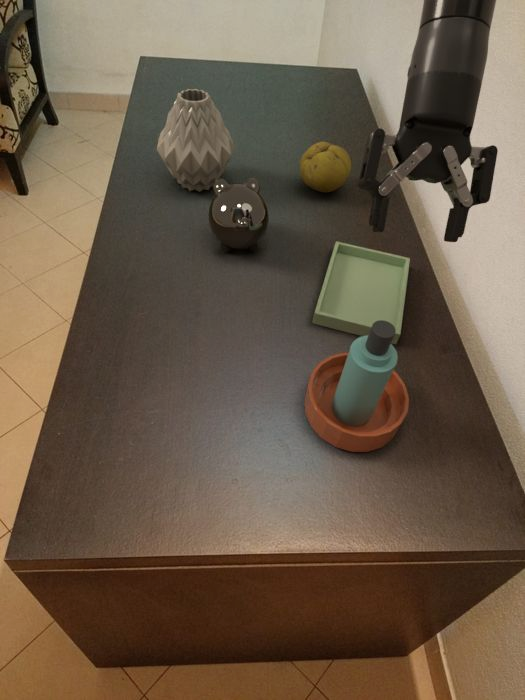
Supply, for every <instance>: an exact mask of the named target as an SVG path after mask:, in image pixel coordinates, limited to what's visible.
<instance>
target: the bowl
mask: <svg viewBox="0 0 525 700" xmlns="http://www.w3.org/2000/svg"><path fill="white" fill-rule="evenodd" d="M348 353H349V352H342V353H337V354H333V355H331V356H328V357H326V358H325V359H323V360H321V361H320V362H318V364H317V365H316V366H315V368H314V369H313V370H312V371H311V373H310V377H309V381H308V385H307V388H306V393H305V397H304V402H303V403H304V412H305V417H306V418H307V420H308V422H309V425H310V427H311V429H312V430H313V431H314V433H316V434H317V435H318V437H320V438H321V439H322V440H323V441H325V442H327V443H328V444H330V445H331V446H333V447H335V448H337V449H341V450H344V451H348V452H354V453H355V452H356V453H357V452H359V453H364V452H365V453H367V452H371V451H374V450H377V449H381V448H382V447H384V446H386V445H387V444H388V443H389V442H390V441H391V440H393V439H394V438H395V435H396V433H397V432H398V430H399V429H400V427H401V425H402V423H403V421H404V420H405V418H406V416H407V414H408V412H409V404H410V403H409V402H410V397H409V394H408V390H407V386H406V385H405V384H406V383H404V381H403V380H402V378H401V377H400V375H399V374H398V373H397V372H396V371H395V369H394V370H393V372H392V374H391V376H390V378H389V380H388V383H387V385H386V387H385V389H384V391H383V393H382V395H381V397H380V400H379V402H378V404H377V406H376V408H375V410H374V412H373V414H372V416H371V418H370V420H369V421H368V422H367V423H365V424H364V425H361V426H350V425H346V424H344V423H342V422H341V421H339V420H338V419H337V418H336V416H335V415H334V413H333V411H332V401H333V398H334V395H335V392H336V389H337V386H338V383H339V380H340V377H341V374H342V371H343V368H344V365H345V362H346V359H347V356H348Z"/></svg>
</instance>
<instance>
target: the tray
mask: <svg viewBox="0 0 525 700" xmlns="http://www.w3.org/2000/svg"><path fill="white" fill-rule="evenodd" d="M410 262H411V258H410V257H406V256H402V255H398V254H393V253H389V252H385V251H381V250H375V249H372V248H368V247H362V246H358V245H354V244H350V243H347V242H340V241H338V240H337V241H335V244H334V246H333V250H332V253H331V257H330V260H329V263H328V267H327V270H326V273H325V277H324V280H323V284H322V287H321V290H320V294H319V296H318V300H317V303H316V306H315V310H314V314H313V317H312V323H311V324H313V325H318V326H322V327H326V328H329V329H333V330H337V331H340V332H344V333H349V334H352V335H355V336H356V335H357V336H359V337H362V336H367V335H369V333H370V330H371V327H372V325H373V323H374V322H376V321H379V320H384V321H387V322H389V323H391V324H392V325H393V326H394V327H395V331H396V332H395V335H394V337H393V339H392V342H391V344H392V345H397V343H398V341H399V338H400V337H401V332H402V326H403V325H402V324H403V318H404V308H405V301H406V293H407V287H408V278H409V271H410V270H409V269H410Z"/></svg>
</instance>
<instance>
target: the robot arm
mask: <svg viewBox="0 0 525 700" xmlns="http://www.w3.org/2000/svg"><path fill="white" fill-rule="evenodd" d="M496 4H497V0H423V3H422V10H421V15H420V19H419V20H420V21H419V26H418V32H417V35H416V36H417V37H416V40H415V43H414V47H413V50H412V54H411V59H410V63H409V67H408V70H407V81H406V87H405V92H404V100H403V104H402V110H401V116H400V121H399V126H398V127H399V128H398V131H397V133H396V134H392V133H387V132H385V130H384V129H383V128H381V127H380V128H377V129H375V130H374V131H373V132H371V133H370V134H369V135H368V137H367V141H366V145H365V150H364V154H363V159H362V162H361V163H362V164H361V167H360V168H361V169H360V174H359V178H358V181H357V182H358V183H357V185H358V188H359V189H360V190H363V191H366V192H368V194H370V195H371V197H372V200H371V205H370V212H369V217H368V224H369V226H370V227H372V233H384V232H385V226H386V221H387V216H388V209H389V204H390V199H391V197H389V196H388V195H389V194H390V192H392V191H393V190H394V188H396V186H397V185H398V184H399V183H400V182H402V181H403V180H404V179H405V178H407V179H408V181H414V182H415V181H423V182H426V183H428V184H439V183H440V185H441V186H442V189H443V190H444V192H445V193H446V194H447V195H448V197H449V200H450V202H451V204H452V206H453V207H450V208H449V211H448V217H447V220H446V226H445V229H444V230H445V231H444V235H443V241H444V242H447V243H457V242H458V240H459V238H462V237H463V235H464V234H465V229H466V225H467V220H468V216H469V212H470V210H471V208H472V207H473V206H478V205H482V204H487V203H488V202H489V201H490V199H491V194H492V189H493V183H494V176H495V169H496V164H497V158H498V150H499V149H498V147H497V146H496V145H493V144H492V145H489V146H485V147H484V146H482V147H481V146H472V142H471V133H472V130H473V128H474V123H475V119H476V114H477V108H478V105H479V99H480V95H481V89H482V85H483V79H484V74H485V69H486V66H487V61H488V54H489V43H490V42H489V41H490V34H491V29H492V23H493V19H494V14H495V10H496V9H495V8H496ZM389 147H391V148H392V151H393V153H394V156H395V158H396V160H397V163H396V164H395V165H394V166H393V167H392V168H391V169H390V170H389V171H388V172H387V173H386V174H385V176H384V177H383V178H382V179H381V180H380V181H379V180H377V179H376V177H377V173H378V169H379V165H380V161H381V156H382V155H383V154H385V153H387V151H388V149H389ZM468 159H469V161H470V166H471V168H472V169H473V170H472V171H473V172H472V176H471V182H470V189H469V187H468V179H467V177H466V174H465V173H464V170H463V168H462V165H463V164H464V163H465V162H466V161H467V160H468Z"/></svg>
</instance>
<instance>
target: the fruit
mask: <svg viewBox="0 0 525 700" xmlns="http://www.w3.org/2000/svg"><path fill="white" fill-rule="evenodd" d="M351 169H352V162H351V158H350V155H349V154H348V152H347V151H346V149H344V148H343V147H342V146H339V145H336V144H332V143H331V142H327V141H318V142H317V143H313V144H312V145H311V146H310V147H309V148H307V150H306V151H305V152H304V153H303V154H302V157H301V159H300V160H299V172H300V178H301V180H302V182H303V183H304V184H305V185H306V186H308V187H309V188H310V189H312V190H314V191H317V192H320V193H330V192H333V191H336V190H338V189H339V188H341V187H342V186H343V185H344V184H345V183H346V182H347V180H348V178H349V175H350V173H351Z"/></svg>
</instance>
